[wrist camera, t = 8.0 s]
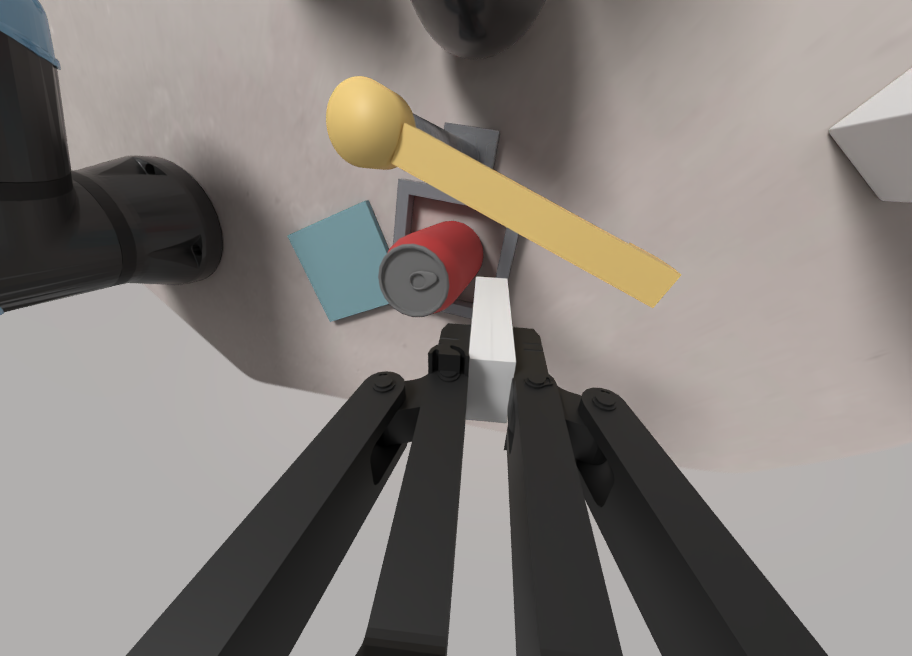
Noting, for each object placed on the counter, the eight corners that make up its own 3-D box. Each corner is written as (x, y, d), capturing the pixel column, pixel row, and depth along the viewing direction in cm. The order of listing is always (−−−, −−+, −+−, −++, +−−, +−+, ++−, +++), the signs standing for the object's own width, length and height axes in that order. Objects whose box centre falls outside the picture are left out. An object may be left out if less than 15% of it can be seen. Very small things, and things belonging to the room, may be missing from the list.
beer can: (490, 277, 36) (465, 317, 25) (433, 288, 38) (387, 329, 27) (476, 213, 33) (442, 226, 23) (416, 228, 36) (359, 247, 25)
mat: (333, 319, 43) (330, 321, 42) (292, 234, 40) (287, 235, 39) (408, 296, 39) (405, 298, 38) (368, 200, 36) (364, 200, 35)
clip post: (489, 191, 32) (430, 198, 16) (439, 182, 33) (338, 180, 17) (500, 132, 30) (445, 74, 14) (447, 123, 31) (339, 60, 15)
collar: (498, 320, 37) (496, 325, 36) (394, 294, 39) (388, 298, 38) (526, 202, 32) (525, 202, 31) (404, 179, 34) (398, 178, 33)
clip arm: (670, 243, 16) (706, 261, 12) (626, 298, 18) (647, 328, 14) (385, 88, 17) (338, 60, 13) (365, 153, 18) (318, 145, 14)
